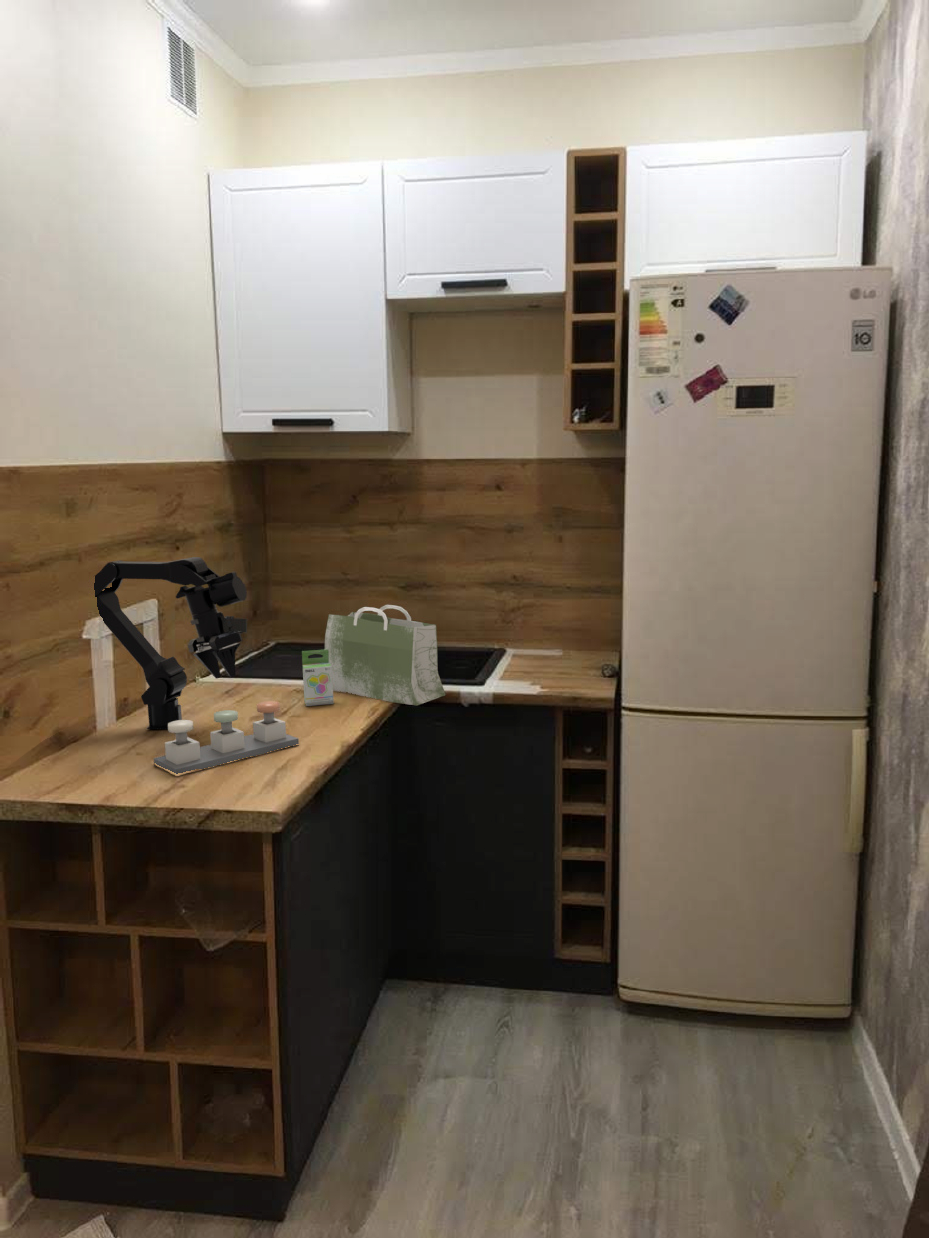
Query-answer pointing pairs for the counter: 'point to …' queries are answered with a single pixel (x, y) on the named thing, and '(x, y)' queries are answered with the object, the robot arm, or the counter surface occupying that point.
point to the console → (225, 747)
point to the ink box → (317, 678)
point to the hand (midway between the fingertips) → (225, 677)
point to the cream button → (180, 730)
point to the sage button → (226, 720)
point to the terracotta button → (268, 710)
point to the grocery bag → (384, 656)
